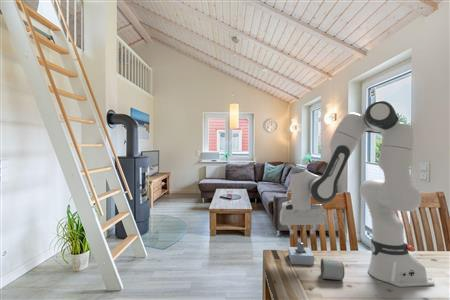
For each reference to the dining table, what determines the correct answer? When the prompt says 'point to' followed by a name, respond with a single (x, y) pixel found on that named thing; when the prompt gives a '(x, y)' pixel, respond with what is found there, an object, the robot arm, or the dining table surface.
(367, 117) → the robot arm
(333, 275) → the ceramic mug
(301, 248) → the pin
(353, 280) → the dining table surface
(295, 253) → the collar block
